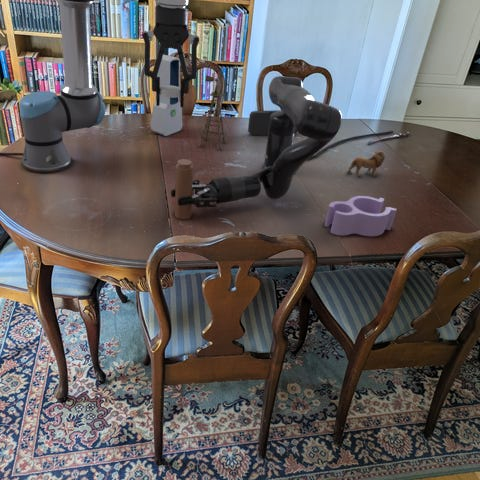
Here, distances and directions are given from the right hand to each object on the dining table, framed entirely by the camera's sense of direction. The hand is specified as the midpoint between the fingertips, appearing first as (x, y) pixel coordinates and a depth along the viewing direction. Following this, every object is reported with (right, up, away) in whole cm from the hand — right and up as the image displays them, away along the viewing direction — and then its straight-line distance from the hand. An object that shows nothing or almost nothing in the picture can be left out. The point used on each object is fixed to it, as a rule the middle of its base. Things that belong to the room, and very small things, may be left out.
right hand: (175, 197), depth 135 cm
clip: (+55, -8, +8) cm, 56 cm away
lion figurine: (+66, +13, +43) cm, 79 cm away
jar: (+2, -5, +5) cm, 7 cm away
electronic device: (-12, +33, +61) cm, 71 cm away
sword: (+87, +34, +79) cm, 122 cm away
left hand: (+1, +23, -14) cm, 27 cm away
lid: (+1, +26, -16) cm, 31 cm away
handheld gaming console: (+33, +34, +71) cm, 85 cm away
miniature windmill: (+8, +26, +54) cm, 60 cm away
